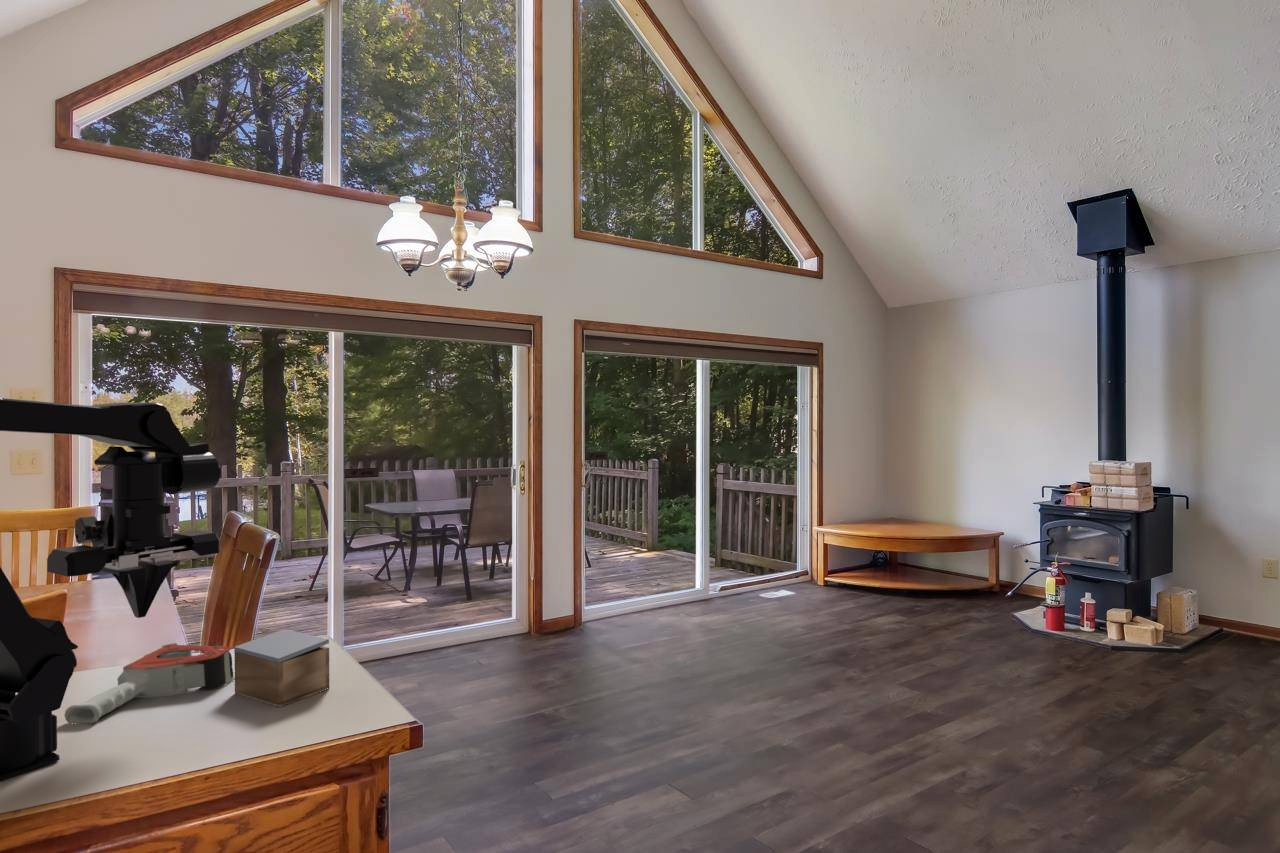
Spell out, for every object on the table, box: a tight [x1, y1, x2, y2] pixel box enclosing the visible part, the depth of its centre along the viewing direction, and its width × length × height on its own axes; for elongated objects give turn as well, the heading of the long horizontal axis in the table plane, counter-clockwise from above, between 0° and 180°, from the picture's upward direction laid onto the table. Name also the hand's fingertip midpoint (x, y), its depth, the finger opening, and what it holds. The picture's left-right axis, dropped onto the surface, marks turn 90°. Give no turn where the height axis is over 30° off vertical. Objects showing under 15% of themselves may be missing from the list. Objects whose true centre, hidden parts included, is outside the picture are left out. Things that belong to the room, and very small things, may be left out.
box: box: [233, 645, 330, 708], centre depth 110 cm, size 8×10×6 cm
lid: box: [233, 628, 330, 663], centre depth 110 cm, size 8×10×1 cm
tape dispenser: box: [64, 642, 235, 725], centre depth 110 cm, size 18×5×20 cm
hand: (140, 617), depth 101 cm, fingers closed
